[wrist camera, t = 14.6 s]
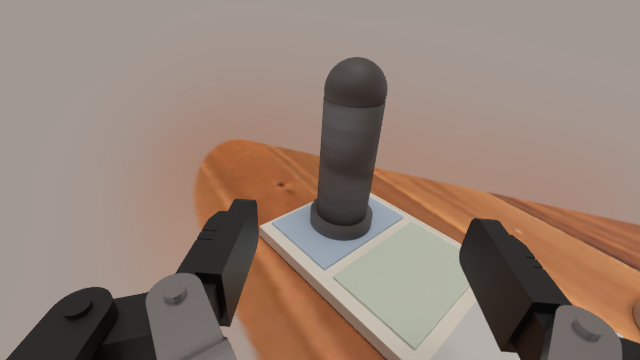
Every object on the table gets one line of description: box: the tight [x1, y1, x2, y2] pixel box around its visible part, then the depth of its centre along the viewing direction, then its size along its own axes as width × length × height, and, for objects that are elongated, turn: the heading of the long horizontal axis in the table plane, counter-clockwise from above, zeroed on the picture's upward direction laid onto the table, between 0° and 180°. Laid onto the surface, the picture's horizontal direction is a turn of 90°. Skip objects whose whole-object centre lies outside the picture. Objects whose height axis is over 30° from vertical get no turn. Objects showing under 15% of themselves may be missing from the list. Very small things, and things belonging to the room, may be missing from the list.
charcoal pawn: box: [310, 57, 387, 241], centre depth 21 cm, size 5×5×12 cm
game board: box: [260, 193, 623, 360], centre depth 20 cm, size 11×21×1 cm, turn 42°
